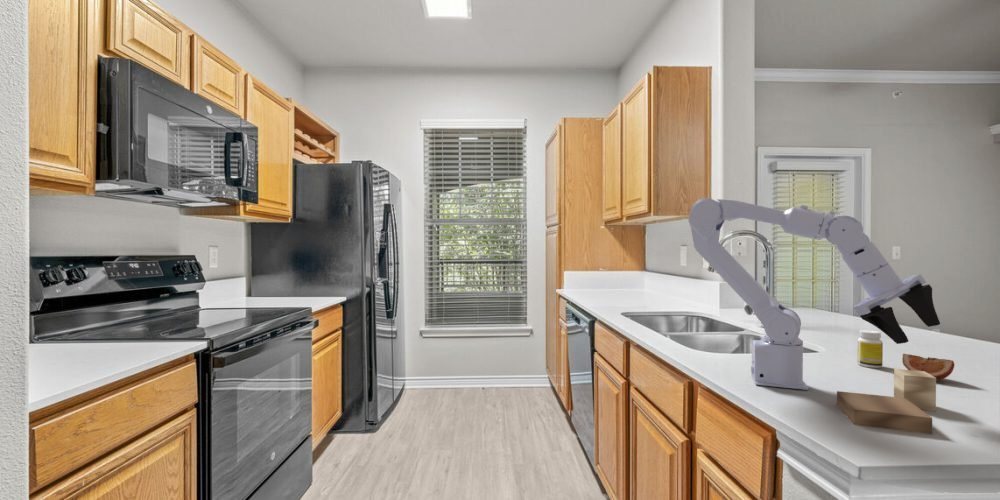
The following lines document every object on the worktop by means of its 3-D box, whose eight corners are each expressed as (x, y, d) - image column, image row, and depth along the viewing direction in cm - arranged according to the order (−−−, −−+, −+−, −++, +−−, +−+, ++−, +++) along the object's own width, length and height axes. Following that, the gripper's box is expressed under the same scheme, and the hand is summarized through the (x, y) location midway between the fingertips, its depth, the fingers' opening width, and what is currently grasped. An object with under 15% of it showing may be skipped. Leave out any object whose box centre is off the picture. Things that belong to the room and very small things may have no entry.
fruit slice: (897, 376, 102) (898, 354, 102) (908, 372, 106) (908, 350, 106) (949, 386, 95) (949, 362, 95) (958, 381, 99) (958, 358, 99)
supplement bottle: (887, 369, 108) (887, 333, 108) (864, 368, 109) (864, 333, 109) (874, 363, 113) (875, 329, 113) (853, 362, 114) (853, 329, 114)
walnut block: (854, 427, 76) (854, 409, 76) (836, 407, 85) (836, 391, 85) (932, 437, 72) (932, 418, 72) (905, 414, 81) (905, 398, 81)
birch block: (903, 407, 83) (904, 375, 83) (893, 400, 87) (894, 368, 87) (935, 411, 81) (936, 377, 81) (924, 403, 86) (924, 371, 85)
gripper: (858, 280, 84) (907, 348, 80) (918, 249, 86) (969, 314, 83) (830, 288, 91) (875, 352, 87) (887, 259, 93) (933, 320, 89)
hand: (918, 334), depth 85 cm, fingers open, 7 cm apart
